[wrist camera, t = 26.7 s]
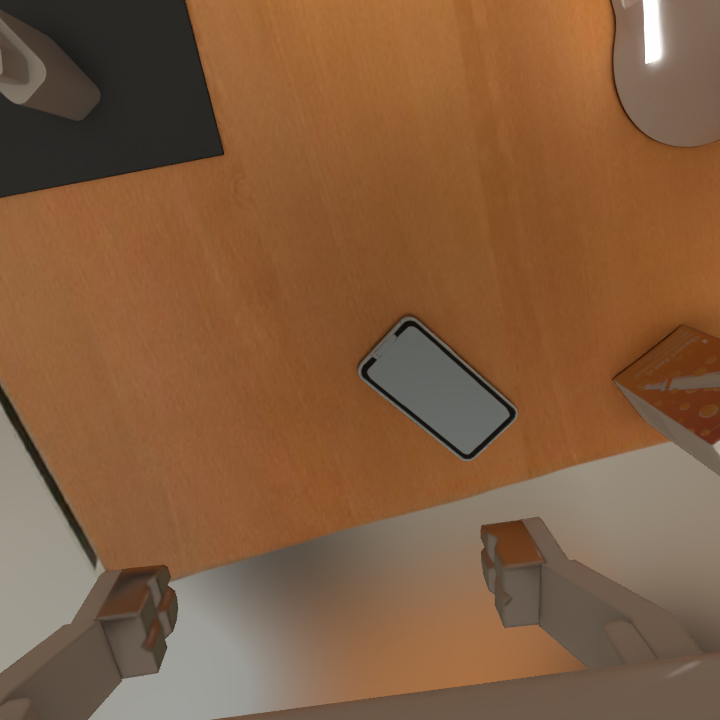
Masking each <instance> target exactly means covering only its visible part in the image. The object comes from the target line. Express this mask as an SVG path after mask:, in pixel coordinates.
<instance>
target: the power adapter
mask: <svg viewBox="0 0 720 720" xmlns="http://www.w3.org/2000/svg"><path fill="white" fill-rule="evenodd" d="M0 92H1V93H2V94H3V95H5V96H6V97H7V98H8V99H9V100H10V101H12V102H14V103H16V104H19V105H23V106H26V107H30V108H33V109H37V110H40V111H44V112H47V113H51V114H54V115H58V116H61V117H65V118H68V119H72V120H75V121H80V120H83V119H84V118H85V117H86V116H87V115H88V114H89V113H90V111H91V110H92V109H93V108H94V107H95V106H96V105H97V104H98V102H99V101H100V96H101V94H100V91H99V89H98V87H97V86H96V85H95V84H94V83H93V82H92V81H91V80H90V79H89V78H88V76H87V75H86V74H85V73H84V72H83V71H82V70H81V69H80V68H79V67H78V66H77V65H76V64H75V63H74V62H73V61H72V60H71V59H70V58H69V56H68V55H67V54H66V53H65V52H64V51H63V50H62V49H61V48H60V47H59V46H58V45H57V44H56V43H55V42H54V41H53V40H52V39H51V38H50V37H49V36H47V35H45V34H43V33H41V32H40V31H38V30H36V29H34V28H32V27H31V26H29V25H27V24H25V23H24V22H22V21H20V20H18V19H16V18H15V17H13V16H11V15H9V14H7V13H6V12H4V11H2V10H0Z"/></svg>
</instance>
